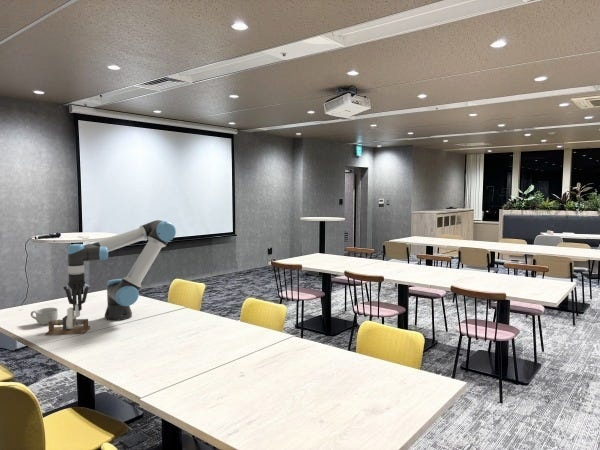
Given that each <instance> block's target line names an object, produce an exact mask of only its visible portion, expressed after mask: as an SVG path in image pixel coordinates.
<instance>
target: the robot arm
mask: <svg viewBox="0 0 600 450" xmlns="http://www.w3.org/2000/svg"><path fill="white" fill-rule="evenodd" d="M176 232H177V230H176V226H175V225H174V224H173V223H172V222H170V221H167V220H159V219H156V220H153V221H150V222H148V223H145V224H143V225H140V226H139V227H138V228H135V229H132V230H130V231H129V230H128V231H126V232H124V233H120V234H118V235H114V236H111V237H109V238H105V239H103V240H102V239H101V240H99V241H96V242H94V243H86V244H82V243H73V244H69V245H68V247H67V263H68V264H67V265H68V266H67V267H68V269H67V271H68V272H67V273H68V283H67V285H65V286H63V290H64V291H65V294H66V297H67V301H68V304H69V305H72V308H73V310H74V311H75V317H76V318H79V317H80V316H81V311H82V309H83V306H82V305H83V304H84V303H86V301H87V298H88V297H87V296H88V291H89V289H90V288H91V285H89V284H86V280H85V273H84V272H85V262H91V261H93V262H94V261H95V262H96V261H104V260H107V259H108V258H109V252H113V251H115V250H117V249H121V248H124V247H126V246H129V245H132V244H135V243H138V242H141V241H146V244H145V246H144V247H143V249H142V251H141V252H140V253H139V256H138V257H137V259H136V261H135V263H134V264H133V266H132V267H131V268H130V270H129V272H128V273H127V276H125V277H122V278H117V279H115V278H114V279H110V280H107V282H106V293H107V294H106V297H107V298H106V299H107V300H106V301H107V305H106V306H107V307H106V309H105V312H104V320H106V321H111V322H112V321H115V322H116V321H124V320H128V319H130V318H132V317H133V312H132V309H131V306H132V305H135V304H136V302H137V301H138V299H139V296H140V293H139V292H140V291H141V288H142V285H141V284H142V282H143V280H144V278H145V276H146V275H147V273H148V271H149V270H150V269H151V267H152V264H153V263H154V261H155V260H156V258H157V257H158V255H159V253H160V251H161V250H162V248H165V247H167V244H168V243H169V242H170V241H172V240H173V239H174V238H175V237H176ZM83 288H84V290H83ZM70 289H71V290H70ZM82 292H83V293H82Z"/></svg>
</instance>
